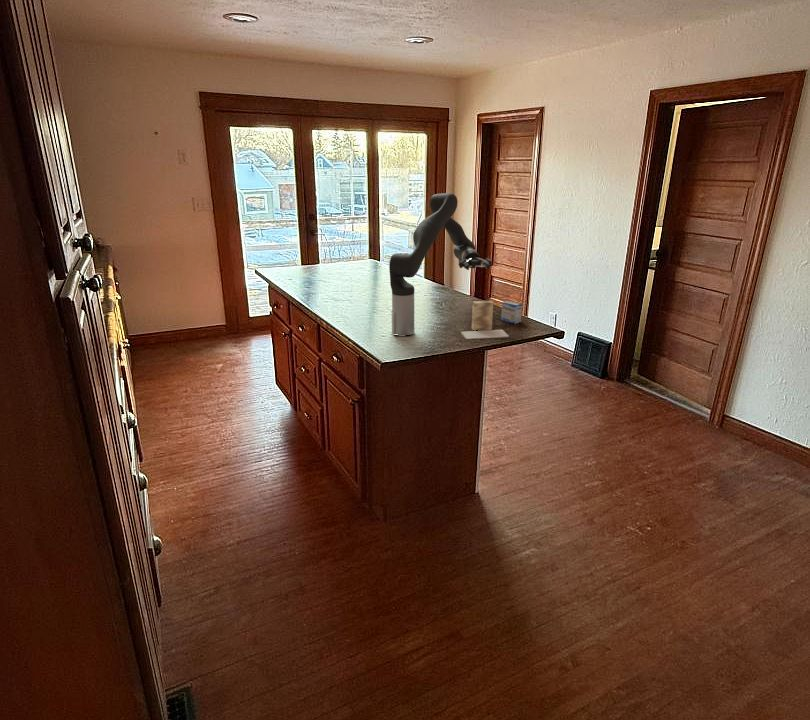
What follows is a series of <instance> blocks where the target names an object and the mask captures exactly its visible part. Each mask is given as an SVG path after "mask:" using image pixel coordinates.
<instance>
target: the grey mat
mask: <svg viewBox="0 0 810 720" xmlns="http://www.w3.org/2000/svg"><path fill="white" fill-rule="evenodd" d="M460 334H461V335H462V336H463V337H464V339H465V340H478V339H479V340H480V339H483V340H484V339H498V338H509V337H510V335H509V334H508V333H506V332H505V330H503V329H492V330H478V331H473V330H469V331H468V330H467V331H460Z"/></svg>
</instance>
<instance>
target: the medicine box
mask: <svg viewBox="0 0 810 720" xmlns="http://www.w3.org/2000/svg"><path fill="white" fill-rule="evenodd" d="M522 311H523V303H519V302H514V301H511V300H505V301H502V303H501V317H500V320H502V321H501V322H504V321H505V323H509V322H510V324H513V323H514V325H517V324H519V322H520V323H521V321H522ZM516 323H517V324H516Z"/></svg>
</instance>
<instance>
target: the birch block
mask: <svg viewBox="0 0 810 720" xmlns="http://www.w3.org/2000/svg"><path fill="white" fill-rule="evenodd" d="M471 306H472V307H471V330H472V331H473V330H474V331H476V330H478V331H484V330H493V316H494V315H493V314H494V313H493V312H494V302H493V301H492V300H491V299H490V300H473V301H472V305H471Z"/></svg>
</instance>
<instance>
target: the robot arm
mask: <svg viewBox="0 0 810 720" xmlns="http://www.w3.org/2000/svg"><path fill="white" fill-rule="evenodd" d="M458 202H459V201H458V197H457V195H455V194H454V193H448V192H444V193H443V192H442V193H436V194H433V195H432V196H431V197H430V200H429V207H430V210H431V212H432V214H430V215H429V216H427V217H425V218H424V219H423V220H422V221H420V222H419V224H418V226H416V228H415V230H414V231H413V234H412V235H413V237H412V239H413V244H414V250H413V251H412V252H411V253H399V252H398V253H396V252H395V253H393V254H392V255H391V257H390V260H389V263H388V264H389V265H388V266H389V281H390V285H389V286H390V289H391V333H392V332H393V333H392V335H393V334H398V335H411V334H413V335H414V334H415V287H414V285H413V284H411V283H409V282H408V281H407V280H406V279H405V278H407V279H408V278H414V277H415V276H416V275H417V273H418V272H419V270H420V268H421V266H422V263H423V261H424V259H425V258H426V255H427V253H428V252H429V250H430V248H431V247H432V246H433V244H434V242H435V241H436V240H437V237H438V236H439V234H440V233H441V231H442V229H443V228H444V229H445V230H446V231H445V232H447V234H448V236H449V238H450V240H451V242H452V244H453V245H454V246H455V247H454V249H453V255H454V256H455V258H456V259H458V267H459V268H460V269H463V268H464V269H465V270H467V271H469V270H470V269H477V267H480V268H485V269H486V270H488V269H489V268H490V267H492V260H491V259H490V258H489V257H486V258H485V259H484V258H481V255H480V254H479V253H478V252H477V251H476V245H475V244H474V243H473V241H471V240H470V239H469V238H468V236H467V235H466V233H465V231H464V229H463V227H462V226H461V224H460V223H459V222H458V221H456V220H455V219H454V218H453V217H452V216H453V215H454V214H455V213H456V210H457V208H458ZM411 336H412V335H411Z"/></svg>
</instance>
